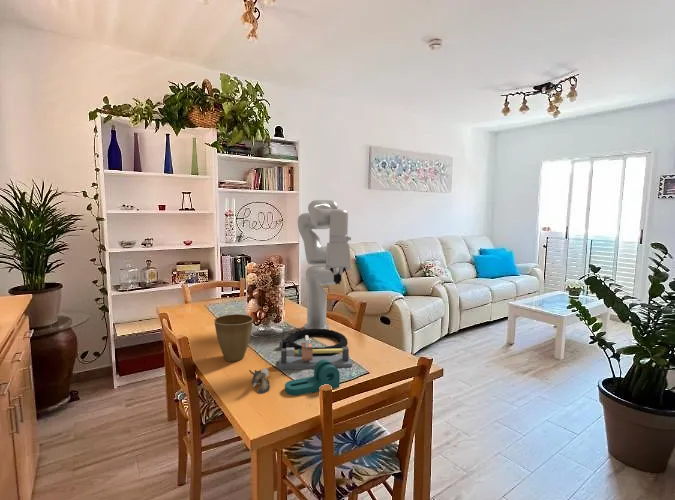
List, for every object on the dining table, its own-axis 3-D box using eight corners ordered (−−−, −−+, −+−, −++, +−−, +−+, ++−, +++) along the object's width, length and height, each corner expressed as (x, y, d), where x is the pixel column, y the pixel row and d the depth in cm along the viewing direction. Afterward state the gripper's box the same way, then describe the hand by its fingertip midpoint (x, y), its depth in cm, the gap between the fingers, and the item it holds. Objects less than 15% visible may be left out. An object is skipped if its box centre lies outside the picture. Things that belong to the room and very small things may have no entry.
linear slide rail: (278, 360, 149) (278, 345, 148) (348, 358, 153) (348, 343, 152) (278, 369, 141) (278, 353, 140) (351, 366, 145) (352, 350, 144)
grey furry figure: (242, 380, 129) (246, 387, 121) (253, 361, 131) (257, 367, 123) (261, 390, 131) (266, 397, 123) (272, 371, 133) (277, 377, 125)
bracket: (331, 379, 135) (332, 358, 134) (339, 387, 129) (339, 365, 128) (282, 388, 127) (282, 365, 126) (288, 397, 121) (288, 374, 120)
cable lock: (357, 345, 158) (286, 352, 149) (356, 354, 159) (286, 362, 149) (335, 325, 184) (274, 330, 174) (335, 332, 185) (274, 338, 175)
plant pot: (258, 361, 148) (258, 321, 146) (219, 368, 141) (218, 327, 139) (247, 348, 161) (247, 311, 159) (211, 354, 154) (210, 316, 152)
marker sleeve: (301, 355, 149) (301, 335, 148) (311, 355, 149) (311, 335, 148) (301, 360, 144) (302, 340, 143) (312, 360, 144) (312, 339, 143)
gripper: (354, 239, 160) (353, 281, 162) (319, 238, 158) (318, 281, 160) (357, 240, 153) (356, 285, 155) (321, 240, 151) (320, 285, 153)
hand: (337, 283), depth 158 cm, fingers closed
